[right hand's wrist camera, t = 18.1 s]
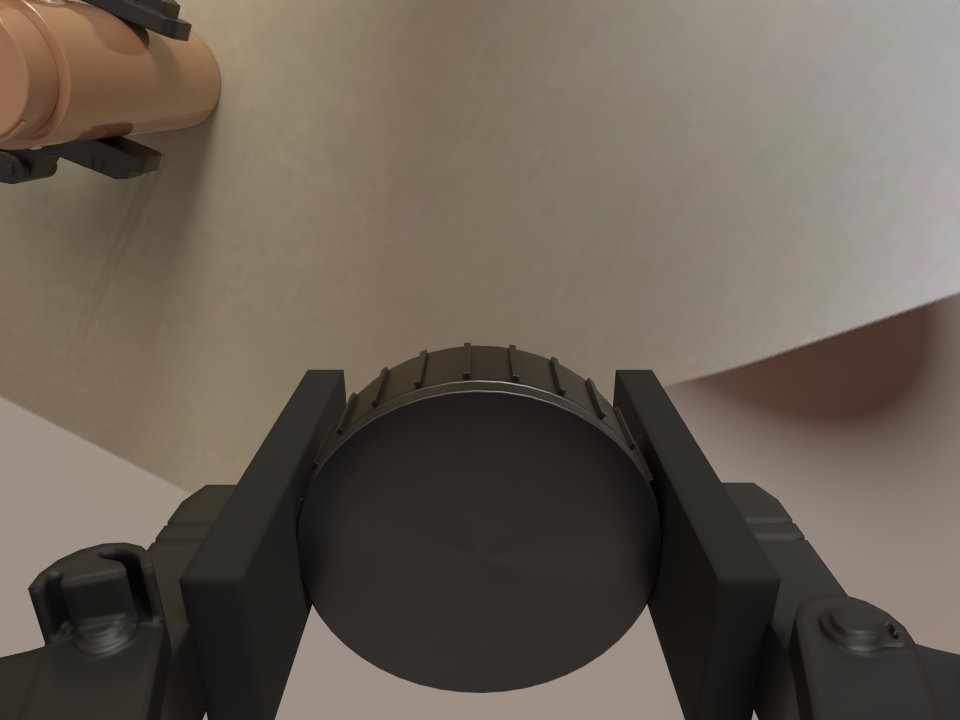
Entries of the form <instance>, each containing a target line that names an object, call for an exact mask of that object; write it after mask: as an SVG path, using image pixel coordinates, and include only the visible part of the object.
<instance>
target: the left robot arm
mask: <svg viewBox="0 0 960 720" xmlns="http://www.w3.org/2000/svg"><path fill="white" fill-rule="evenodd" d="M81 1H84V2H86V3H88V4H91V5H93V6H95V7H98V8H101V9H103V10H105V11H107V12H109V13H111V14H114V15H116V16H118V17H121V18H123V19H125V20H128V21H130V22H132V23H135V24H137V25H139V26H142V27H144V28H146V29H149V30H151V31H153V32H155V33H158V34H160V35H163V36H165V37H168V38H171V39H175V40H181V41H187V42H188V39H189V35H190V31H191V26H192V24H190V23H188V22H186V21H184V20H181V19H179V18H178V15H179V10H180V5H179V4H178V3H177V2H176V1H174V0H81ZM60 157H62V158H64V159H67V160H69V161H72V162H74V163H77V164H79V165H82V166H84V167H87V168H89V169H92V170H94V171H97V172H99V173H102V174H104V175H107V176H109V177H112V178H114V179H128V178H132V177H136V176H140V175H142V174H143V173H147V172H151V171H155V170H158V167H159V163H160V158H161V153H160V152H158V151H156V150H153V149H151V148H149V147H146V146H144V145H141V144H139V143H136V142H134V141H131V140H129V139H127V138H124V137H122V136H119V137H112V138H104V139H96V140H88V141H81V142H73V143H65V144H58V145H50V146H42V147H34V148H27V149H16V150H9V149H0V182H3V183H9V184H16V183H21V182H26V181H31V180H36V179H41V178H46V177H50V176H52V175H54V174H55V172H56V170H57V163H56V162H57V161H58V159H59V158H60Z"/></svg>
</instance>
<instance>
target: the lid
mask: <svg viewBox="0 0 960 720" xmlns="http://www.w3.org/2000/svg"><path fill="white" fill-rule="evenodd" d="M311 467H313V468H314V470H313V473H312V475H311V477H310V479H309V482H308V484H307V486H306V489H305V491H304V493H303V495H302V498H301V507H300V511H299V515H298V519H297V529H296V541H297V550H298V558H299V566H300V573H301V579H302V582H303V584H304V587H305V589H306V592H307V594H308V597H309V599H310V600H311V602H312V604H313V606H314V607H315V609H316V611H317V613H318V614H319V616H320V617H321V618H322V620H323V621H324V622H325V624H326V625H327V626H328V627H329V629H330V630H331V631H332V632H333V633H334V634H335V635H336V636H337V637H338V638H339V639H340V640H341V641H342V642H343V643H344V644H345V645H346V646H347V647H349V648H350V649H351V650H353V651H354V652H355V653H356V654H358V655H359V656H360V657H361V658H363V659H365V660H366V661H368V662H370V663H371V664H373V665H375V666H376V667H378V668H379V669H382V670H384V671H386V672H388V673H390V674H392V675H395V676H397V677H399V678H402V679H405V680H407V681H410V682H413V683H416V684H419V685H423V686H428V687H432V688H436V689H441V690H449V691H456V692H471V693H489V692H504V691H511V690H517V689H523V688H528V687H532V686H535V685H539V684H543V683H547V682H549V681H552V680H555V679H557V678H560V677H562V676H565V675H567V674H569V673H571V672H573V671H575V670H577V669H579V668H581V667H583V666H585V665H587V664H588V663H590V662H591V661H593V660H594V659H596V658H597V657H599V656H600V655H602V654H603V653H604V652H606V651H607V650H608V649H609V648H610V647H612V646H613V645H614V644H615V643H616V642H618V641H619V640H620V638H621V637H622V636H623V635H624V634H625V633H626V632H627V631H628V630H629V629H630V628H631V627H632V625H633V624H634V623H635V621H636V620H637V618H638V617H639V616H640V614H641V613H642V611H643V610H644V608H645V606H646V604H647V602H648V600H649V599H650V597H651V595H652V593H653V590H654V587H655V584H656V581H657V579H658V576H659V570H660V562H661V554H662V545H663V527H662V520H661V513H660V510H659V506H658V503H657V500H656V497H655V493H654V491H653V489H652V487H651V485H653V484H655V481H654V479H653V476H652V474H651V472H650V470H649V467H648V465H647V463H646V461H645V459H644V456H643V454H642V452H641V450H640V447H639V445H638V443H637V441H636V440H633V438H632V436H631V433H630V431H629V429H628V426H627V424H626V422H625V420H624V417H623V415H622V413H621V411H620V409H619V408H618V407H615V408H614V409H613V407H612V406H611V404H610V403H609V402H608V401H607V400H606V399H605V398H604V397H603V396H602V395H601V394H600V393H599V392H598V390H596V387H595V385H594V382H593V381H592V380H591V379H590V378H588V379H587V380H586V381H585V380H584V379H583V378H582V377H580V376H579V375H577V374H575V373H574V372H572V371H570V370H569V369H567V368H566V367H564V366H562V365H560V364H559V363H558V359H556V358H554V357H551V359H550V360H549V359H546V358H544V357H541V356H538V355H535V354H531V353H528V352H525V351H521V350H516V346H515V345H509V348H503V347H493V346H471V343H464V347H455V348H449V349H444V350H439V351H435V352H430V353H428V352H427V350H424V351H421V353H420V356H419V357H416V358H413V359H410V360H408V361H406V362H404V363H402V364H400V365H398V366H396V367H394V368H392V369H390V370H388V368H387V367H386V368H384V369H382V370H381V373H380V376H379V377H378V378H376V379H375V380H373V381H372V382H371V383H370V384H369V385H368V386H367V387H365V388H364V389H363V390H362V391H361V392H360V393H359V394H358V395H357V394H355V393H353V394H352V395H351V396H350V398H349V400H348V403H347V405H346V407H345V410H344V412H343V413H342V415H341V416H340V418H339V420H338V421H337V423H336V424H335V425H332V424H330V426H329V428H328V430H327V432H326V434H325V437H324V439H323V441H322V443H321V445H320V448H319V450H318V452H317V454H316V456H315V459H314V461H313V463H312V465H311Z"/></svg>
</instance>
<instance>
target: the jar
mask: <svg viewBox="0 0 960 720" xmlns="http://www.w3.org/2000/svg"><path fill="white" fill-rule="evenodd" d="M220 84H221V83H220V74H219V69H218V66H217V63H216V60H215V58H214V56H213V54H212V53H211V51H210V49H209V48H208V46H207V45H206V44H205V43H204V42H203V41H202V39H201V38H200V37H198V36H197V35H196V34H195V33H194V32H192V31H190V35H189V39H188V42H187V41H181V40H175V39H171V38H168V37H165V36H163V35H160V34H158V33H155V32H153V31H151V30H149V29H146V28H144V27H142V26H139V25H137V24H135V23H132V22H130V21H128V20H125V19H123V18H121V17H118V16H116V15H114V14H111V13H109V12H107V11H105V10H103V9H101V8H98V7H95V6H93V5H88V4H84V3H79V2H74V1H70V0H0V149H9V150H16V149H27V148H34V147H42V146H50V145H58V144H65V143H73V142H81V141H88V140H96V139H104V138H112V137H119V136H127V135H135V134H143V133H150V132H158V131H166V130H174V129H181V128H188V127H192V126H194V125H197V124H199V123H201V122H202V121H204V120H205V119H206V118H207V117H208V116H209V115H210V114H211V113H212V111H213V110H214V108H215V106H216V104H217V101H218V98H219V94H220Z"/></svg>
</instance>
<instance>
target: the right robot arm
mask: <svg viewBox="0 0 960 720" xmlns="http://www.w3.org/2000/svg"><path fill="white" fill-rule="evenodd" d="M345 407H346V393H345V381H344V370H307V372H306V374H305V375H304V377H303V379H302V380H301V382H300V383H299V385H298V387H297V388H296V390H295V392H294V393H293V395H292V396H291V398H290V400H289V401H288V403H287V405H286V406H285V408H284V409H283V411H282V413H281V414H280V416H279V418H278V419H277V421H276V422H275V424H274V426H273V427H272V429H271V430H270V432H269V434H268V435H267V437H266V439H265V440H264V442H263V443H262V445H261V447H260V448H259V450H258V452H257V453H256V455H255V456H254V458H253V460H252V461H251V463H250V465H249V466H248V468H247V469H246V471H245V473H244V474H243V476H242V477H241V479H240V481H239V482H238V484H237V485H205V486H204V487H203V488H201V489H200V490H198V491H197V492H195V493H194V494H193V495H191V496H190V497H188V498H187V499H186V500H184V501H183V502H182V503H181V504H180V506H179V507H178V508H177V510H176V511H175V512H174V514H173V515H172V516H171V518H170V519H169V521H168V525H167V526H164V528H163V529H162V530H161V532H160V533H159V534H158V536H157V537H156V541H155V543H152V544H151V546H150V547H149V548H148V550H147V551H146V550H145V549H144V548H143V547H142V546H138V545H134V544H129V543H125V542H124V543H107V544H100V545H97V546H93V547H89V548H85V549H81V550H79V551H77V552H74V553H72V554H70V555H68V556H66V557H64V558H61V559H59V560H57V561H56V562H55V563H53V564H52V565H51V566H49V567H48V568H46V569H45V570H44V571H42V572H41V573H40V574H39V575H38V576H37V577H36V579H35V580H34V581H33V583H32V584H31V585H30V587H29V588H28V590H29V593H30V596H31V600H32V603H33V606H34V609H35V612H36V616H37V619H38V622H39V625H40V628H41V631H42V635H43V637H44V641H45V646H44V647H41V648H38V649H34V650H31V651H27V652H23V653H18V654H14V655H10V656H5V657H1V658H0V720H202V719H203V717H204V715H205V713H206V712H207V717H208V720H275V717H276V714H277V711H278V708H279V704H280V701H281V698H282V695H283V692H284V689H285V686H286V683H287V680H288V677H289V674H290V671H291V668H292V665H293V662H294V659H295V656H296V652H297V649H298V646H299V643H300V640H301V637H302V634H303V631H304V628H305V625H306V622H307V619H308V616H309V613H310V610H311V606H312V602H311V600H310V599H309V597H308V594H307V592H306V589H305V587H304V584H303V582H302V579H301V573H300V566H299V558H298V550H297V541H296V529H297V519H298V515H299V511H300V507H301V498H302V495H303V493H304V491H305V489H306V486H307V484H308V482H309V479H310V477H311V475H312V473H313V470H314V468H313V467H311V465H312V463H313V461H314V459H315V456H316V454H317V452H318V450H319V448H320V445H321V443H322V441H323V439H324V437H325V434H326V432H327V430H328V428H329V426H330V424H332V425H335V424H336V423H337V421H338V420H339V418H340V416H341V415H342V413H343V412H344V410H345ZM615 407H618V408H619V409H620V411H621V413H622V415H623V417H624V420H625V422H626V424H627V426H628V429H629V431H630V433H631V436H632V438H633V440H636V441H637V443H638V445H639V447H640V450H641V452H642V454H643V456H644V459H645V461H646V463H647V465H648V467H649V470H650V472H651V474H652V476H653V479H654V481H655V484H653V485H651V487H652V489H653V491H654V493H655V497H656V500H657V503H658V506H659V510H660V513H661V520H662V527H663V545H662V554H661V562H660V570H659V576H658V579H657V581H656V584H655V587H654V590H653V593H652V595H651V597H650V599H649V600H648V602H647V605H648V608H649V611H650V614H651V617H652V620H653V623H654V626H655V629H656V632H657V635H658V638H659V641H660V644H661V647H662V651H663V653H664V657H665V660H666V663H667V666H668V669H669V672H670V675H671V678H672V681H673V684H674V687H675V690H676V693H677V697H678V700H679V703H680V706H681V709H682V712H683V715H684V718H685V720H752V715H753V710H755V713H756V715H757V717H758V719H759V720H960V655H958V654H954V653H949V652H945V651H941V650H936V649H932V648H928V647H925V646H922V645H918V644H915V642H914V641H913V639H912V638H911V636H910V635H909V633H908V632H907V630H906V629H905V627H904V626H903V625H901V624H900V623H899V622H898V621H897V620H895V619H894V618H893V617H892V616H891V615H889V614H888V613H887V612H885V611H883V610H881V609H879V608H878V607H876V606H874V605H872V604H870V603H868V602H866V601H863V600H859V599H856V598H853V597H849V596H848V595H847V594H846V592H845V591H844V590H843V588H842V587H841V586H840V584H839V583H838V581H837V580H836V579H835V577H834V576H833V575H832V573H831V572H830V570H829V569H828V568H827V566H826V565H825V564H824V562H823V561H822V560H821V558H820V557H819V555H818V554H817V553H816V551H815V550H814V549H813V547H812V546H811V544H810V543H809V542H808V541H807V540H805V539H804V535H803V533H802V532H801V531H800V529H799V528H798V527H797V525H796V524H793V523H792V518H791V517H790V516H789V514H788V513H787V512H786V510H785V509H784V507H783V506H782V505H781V503H780V502H779V501H778V500H777V499H776V498H775V497H773V496H772V495H770V494H769V493H767V492H766V491H765V490H763V489H762V488H760V487H759V486H757V485H756V484H754V483H721V481H720V480H719V478H718V477H717V475H716V473H715V472H714V470H713V469H712V467H711V465H710V464H709V462H708V460H707V459H706V457H705V456H704V454H703V452H702V451H701V449H700V447H699V446H698V444H697V443H696V441H695V439H694V438H693V436H692V434H691V433H690V431H689V430H688V428H687V426H686V425H685V423H684V421H683V420H682V418H681V417H680V415H679V413H678V412H677V410H676V409H675V407H674V405H673V404H672V402H671V400H670V399H669V397H668V396H667V394H666V392H665V391H664V389H663V387H662V386H661V384H660V383H659V381H658V379H657V378H656V376H655V374H654V373H653V371H652V370H616V376H615V388H614V401H613V409H614V408H615Z"/></svg>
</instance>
